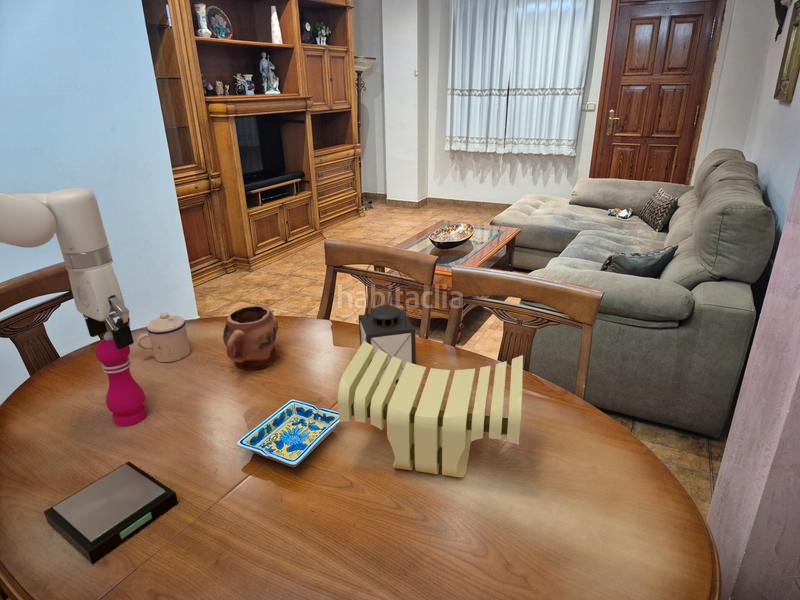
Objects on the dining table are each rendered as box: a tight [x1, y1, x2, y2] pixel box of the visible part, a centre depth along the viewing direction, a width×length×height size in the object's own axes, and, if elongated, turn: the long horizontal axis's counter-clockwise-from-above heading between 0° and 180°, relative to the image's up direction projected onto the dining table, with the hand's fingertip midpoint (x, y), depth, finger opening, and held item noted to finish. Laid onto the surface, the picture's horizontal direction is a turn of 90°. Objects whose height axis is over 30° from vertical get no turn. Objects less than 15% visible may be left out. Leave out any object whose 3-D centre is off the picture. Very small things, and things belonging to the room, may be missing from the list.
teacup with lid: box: [136, 312, 191, 363], centre depth 130 cm, size 12×9×12 cm
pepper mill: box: [95, 331, 148, 427], centre depth 104 cm, size 7×7×20 cm
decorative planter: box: [222, 304, 279, 371], centre depth 124 cm, size 20×12×14 cm, turn 174°
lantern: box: [357, 260, 417, 387], centre depth 117 cm, size 11×11×28 cm
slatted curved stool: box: [337, 341, 524, 478], centre depth 92 cm, size 30×16×18 cm, turn 77°
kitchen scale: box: [43, 461, 179, 565], centre depth 83 cm, size 14×14×3 cm
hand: (111, 340), depth 101 cm, fingers open, 9 cm apart
